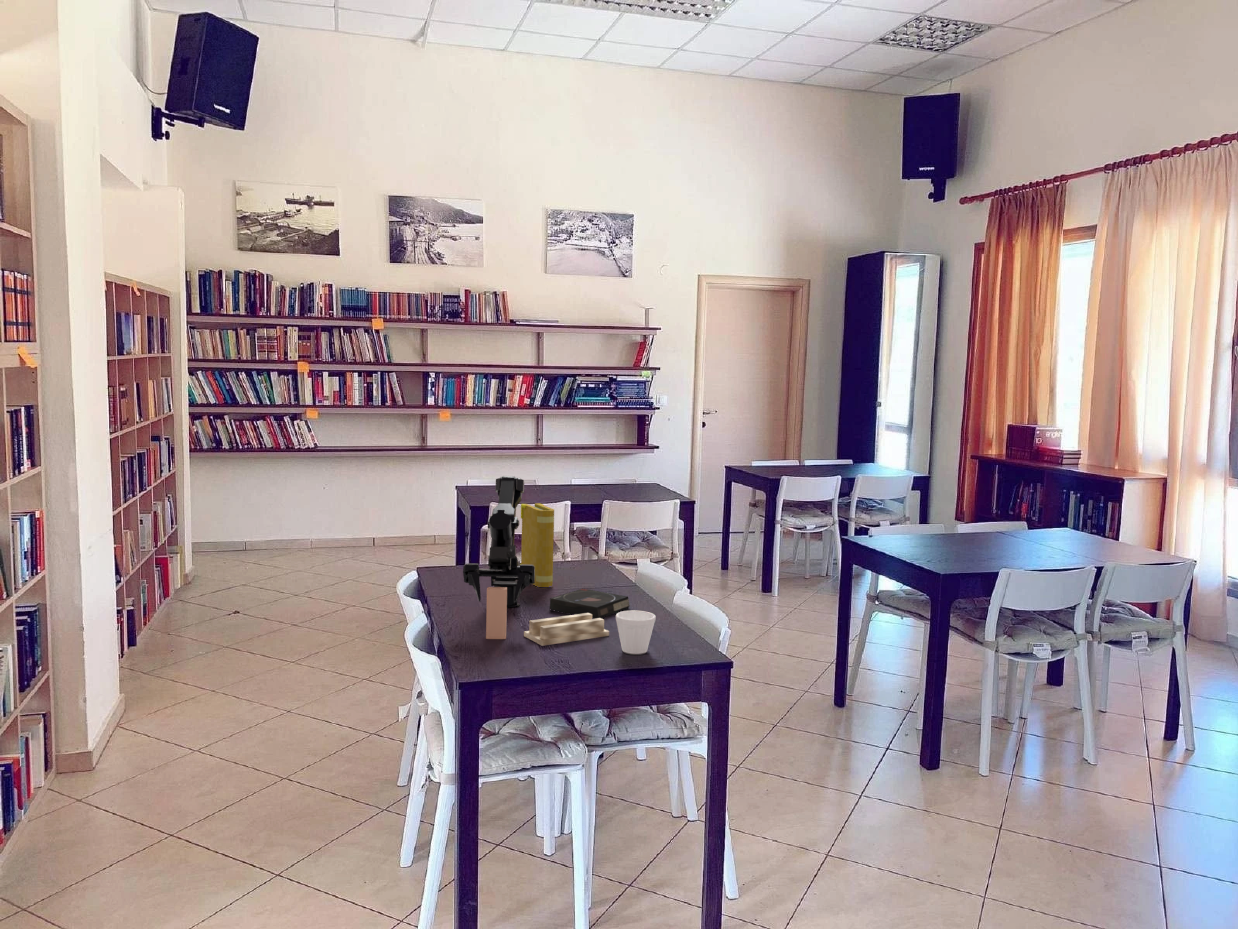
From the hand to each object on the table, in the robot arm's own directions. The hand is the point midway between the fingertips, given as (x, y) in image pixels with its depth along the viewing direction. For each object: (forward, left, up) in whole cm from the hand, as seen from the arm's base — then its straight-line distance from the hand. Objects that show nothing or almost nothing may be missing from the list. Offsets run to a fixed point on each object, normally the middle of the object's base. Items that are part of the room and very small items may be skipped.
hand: (497, 601), depth 241 cm
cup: (-24, +28, -9) cm, 38 cm away
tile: (+1, +1, -9) cm, 9 cm away
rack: (-16, +8, -9) cm, 20 cm away
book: (-39, -51, -9) cm, 65 cm away
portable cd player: (-36, -13, -10) cm, 40 cm away
